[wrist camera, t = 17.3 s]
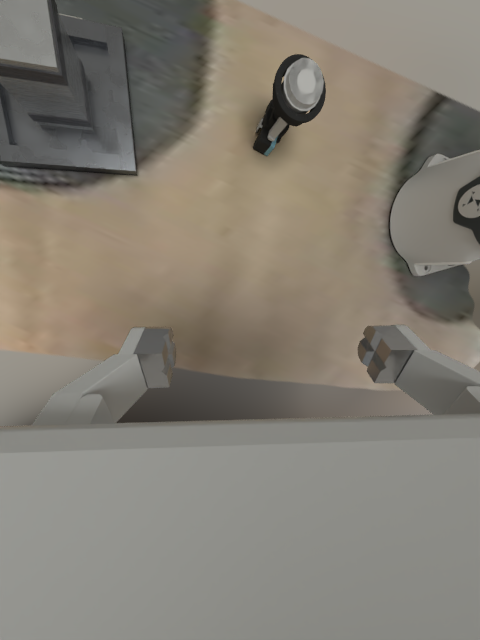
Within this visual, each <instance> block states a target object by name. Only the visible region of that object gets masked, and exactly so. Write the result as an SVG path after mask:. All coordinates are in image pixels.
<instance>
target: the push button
mask: <svg viewBox="0 0 480 640" xmlns="http://www.w3.org/2000/svg"><path fill="white" fill-rule="evenodd" d="M283 76H285V77H284V81H283V83H282V84H281V81H282V77H283ZM325 94H326V88H325V81H324V77H323V75H322V72H321V69H320V68H319V67H318V65H317V63H315V62H314V61H313V60H312V59H310V58H309V57H307V56H304V55H299V54H297V55H292V56H290V57H288V58H286V59H285V60H284V61H283V62H282V64H281V65H280V67H279V69H278V71H277V73H276V76H275V80H274V83H273V100H271V101H270V103H269V105H268V106H267V109H266V112H265V113H266V114H265V115H264V118H262V119H261V121H260V122H259V124H258V127H257V130H256V133H257V131H258V129H259V128H262V130H261V132H260V134H259V135H258V137H257V139H256V141H255V143H254V146H253V149H255V150H257V151H259V152H261V153H262V154H264V155H266V156H268V154H269V153H270V152H271V151H272V150H273V149H274V147H275V144H276V143H279V141H280V139H281V137H282V136H283V135H284V134H285V133H286V132H287V130H288V128H289V125H292V126H299V125H300V124H302V123H306V122H309V121H311V120H312V119H313V118H315V117H316V116H317V114H318V113H319V112H320V111H321V109H322V107H323V104H324V101H325ZM310 109H311V110H310ZM308 110H310V112H309V113H307V114H306V112H307V111H308Z"/></svg>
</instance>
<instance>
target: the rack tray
mask: <svg viewBox="0 0 480 640" xmlns="http://www.w3.org/2000/svg"><path fill="white" fill-rule="evenodd" d="M59 16H60V18H61V20H62V22H63V25H64V27H65V29H66V31H67V34H68V36H69V38H70V40H71V43H72V45H73V47H74V49H75V51H76V54H77V56H78V58H79V59H81V62H82V64H83V66H84V69H85V74H86V79H87V86H88V94H89V102H90V109H91V117H92V125H93V130H85V129H76V128H67V127H58V126H49V125H40V124H38V123H37V122H36V121H33V120H32V118H31V117H30V116H29V115H28V114H27V111H26V110H25V109H24V108H23V107H22V106H21V105H20V104H19V103H18V101H17V100H16V99H15V98H14V97H13V96H12V95H11V94H10V93H9V92H8V91H7V90H6V89H5V88H4V87H3V86H2V84H1V83H0V164H2V165H4V166H11V167H25V168H38V169H52V170H66V171H80V172H94V173H108V174H121V175H135V176H137V166H136V156H135V146H134V136H133V126H132V116H131V105H130V95H129V85H128V75H127V65H126V54H125V44H124V37H123V33H122V28H121V27H116V26H111V25H107V24H102V23H97V22H93V21H88V20H83V19H82V18H77V17H73V16H68V15H63V14H59Z"/></svg>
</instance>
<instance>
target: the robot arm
mask: <svg viewBox="0 0 480 640" xmlns="http://www.w3.org/2000/svg"><path fill="white" fill-rule="evenodd" d="M390 232H391V238H392V241H393V244H394V246H395V248H396V250H397V252H398V253H399V254H400V255H401V256H402V257H403V258H404V259H405V260H406V262H407V263H408V266H409V268H410V271H411V273H412V275H413V276H423V275H427V274H430V273H434V272H437V271H441V270H444V269H448V268H451V267H455V266H458V265H462V264H470V263H471V262H473V261H476V260H479V259H480V150H477V151H473V152H470V153H467V154H464V155H461V156H458V157H455V158H451V159H450V158H448V157H446V156H444V155H441V154H435V155H432V156H430V157H429V158H428V159H427V160H426V162H425V163H424V165H423V166H422V168H421V170H420V171H419V172H418V173H417V174H415V175H414V176H413V177H411V178H410V179H409V180H408V181H407V182H406V183H405V184H404V185H403V187H402V188H401V189H400V191H399V193H398V194H397V196H396V199H395V201H394V204H393V207H392V211H391V217H390ZM363 334H364V336H365V338H364V339H362V340H361V341H360V343H359V345H358V356H359V359H360V361H361V362H362V363H363V364H364V365H366V366H368V368H367V372H368V374H369V375H370V377H371V378H372V380H373V382H374V383H395V385H396V386H398V387H399V388H400V389H401V390H403V391H404V392H405V393H407V394H408V395H409V396H410V397H412V398H413V399H414V400H416V401H417V402H418V403H420V404H421V405H422V406H424V407H425V408H426V409H427V410H429V411H430V412H431V413H432V414H434V415H402V416H365V417H332V418H330V417H329V418H293V419H254V420H219V421H180V422H144V423H116V422H117V421H118V420H119V419H120V418H121V417H122V416H123V415H124V414H125V413H126V412H127V410H128V409H129V408H130V407H131V406H132V405H133V404H134V403H135V402H136V401H137V400H138V399H139V398H140V397H141V396H142V395H143V394H144V392H145V391H146V390H147V388H162V387H169V386H170V382H171V378H172V369H171V368H172V367H174V365H175V361H176V347H175V343H174V342H173V341H172V339H173V336H174V335H173V330H172V328H171V327H133V328H132V329H131V330H130V332H129V334H128V336H127V338H126V340H125V342H124V344H123V346H122V347H121V349H120V351H119V353H118V354H117V355H113V356H111V357H109V358H108V359H106V360H105V361H103V362H102V363H100V364H99V365H97V366H96V367H94V368H93V369H91V370H89V371H88V372H87V373H85V374H83V375H82V376H80V377H79V378H78V379H76V380H74V381H73V382H71V383H69V384H68V385H66V386H65V387H63V388H62V389H60V390H59V391H57V392H56V393H54V394H53V395H52V397H51V398H50V399H49V401H48V402H47V404H46V405H45V407H44V408H43V410H42V411H41V412H40V414H39V415H38V417H37V418H36V420H35V421H34V423H33V424H32V425H31V426H0V640H480V372H479V371H477V370H475V369H473V368H471V367H469V366H467V365H465V364H463V363H461V362H458V361H456V360H454V359H452V358H450V357H448V356H446V355H444V354H442V353H440V352H438V351H436V350H430V349H429V348H428V347H427V346H426V345H425V344H424V343H423V342H422V341H421V340H420V339H419V338H418V336H417V335H416V334H415V333H414V332H413V331H412V330H411V329H410V328H409V327H408V326H405V325H391V326H367V327H366V328H365V330H364V333H363Z"/></svg>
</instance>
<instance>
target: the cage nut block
mask: <svg viewBox="0 0 480 640" xmlns="http://www.w3.org/2000/svg"><path fill="white" fill-rule="evenodd" d="M0 83H1V84H2V86H3V87H4V88H5V89H6V90H7V91H8V92H9V93H10V94H11V95H12V96H13V97H14V98H15V99H16V100H17V101H18V103H19V104H20V105H21V106H22V107H23V108H24V109H25V110H26V111H27V114H28V115H29V116H30V117H31V118H32V120H33V121H36V122H37V123H38V124H40V125H49V126H58V127H67V128H76V129H85V130H93V125H92V117H91V109H90V102H89V94H88V86H87V79H86V74H85V69H84V66H83V64H82V62H81V59H79V58H78V56H77V54H76V51H75V49H74V47H73V45H72V43H71V40H70V38H69V36H68V34H67V31H66V29H65V27H64V25H63V22H62V20H61V18H60V16H59V13H58V11H57V5H56V2H55V0H0Z"/></svg>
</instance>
